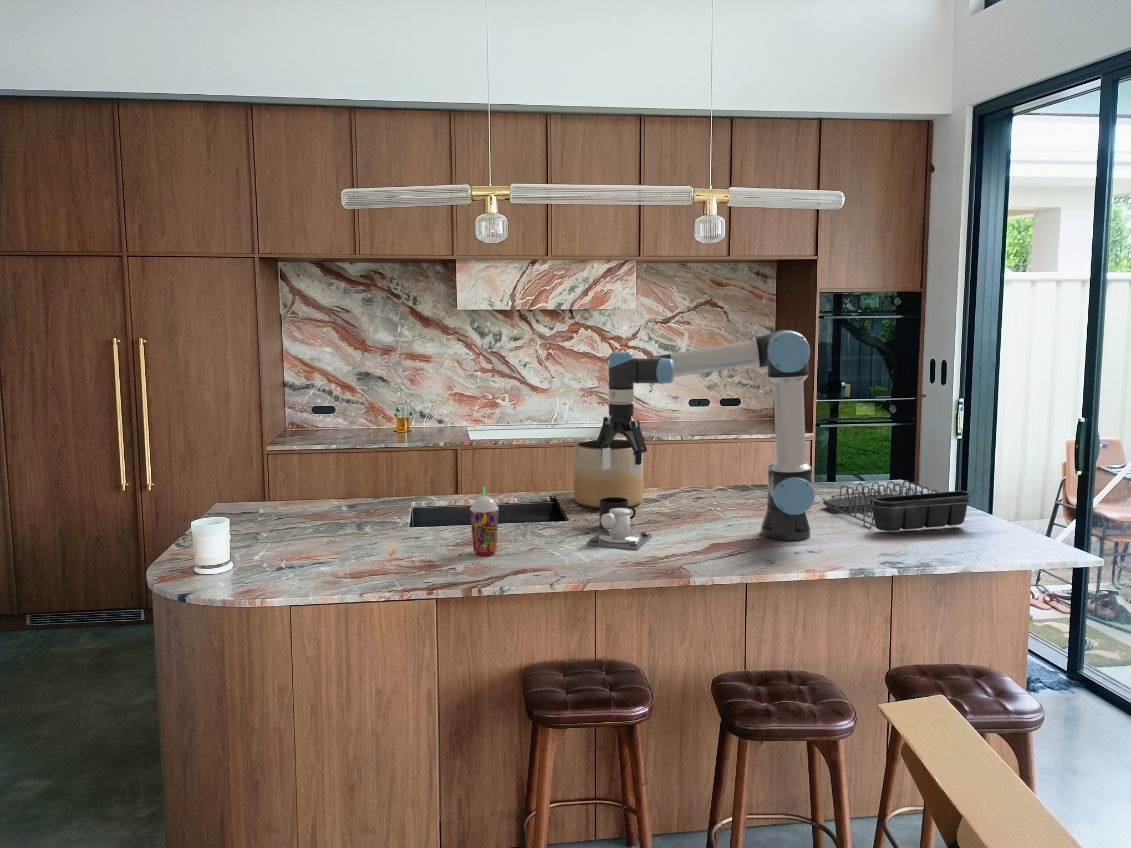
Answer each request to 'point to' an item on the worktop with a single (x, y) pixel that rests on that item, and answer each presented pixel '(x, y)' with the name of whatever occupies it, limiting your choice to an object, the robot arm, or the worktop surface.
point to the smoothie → (484, 525)
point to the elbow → (617, 522)
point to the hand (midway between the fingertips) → (621, 472)
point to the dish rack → (904, 507)
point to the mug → (613, 506)
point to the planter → (606, 474)
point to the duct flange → (619, 540)
